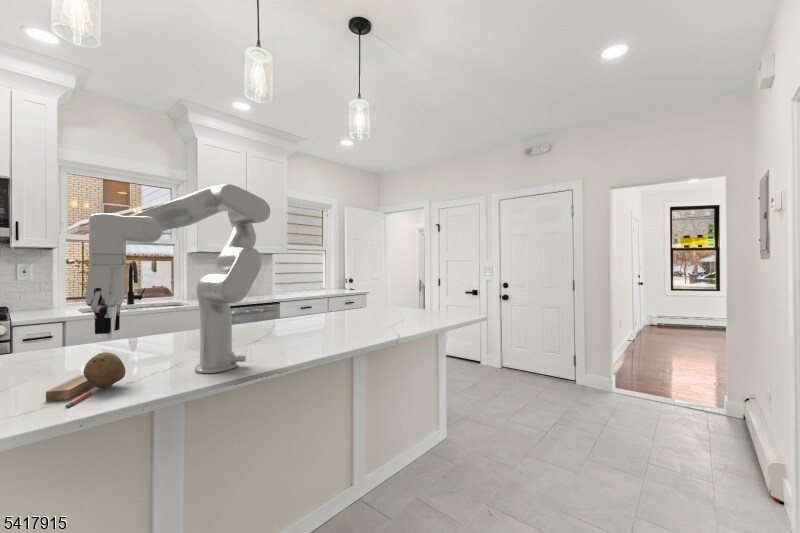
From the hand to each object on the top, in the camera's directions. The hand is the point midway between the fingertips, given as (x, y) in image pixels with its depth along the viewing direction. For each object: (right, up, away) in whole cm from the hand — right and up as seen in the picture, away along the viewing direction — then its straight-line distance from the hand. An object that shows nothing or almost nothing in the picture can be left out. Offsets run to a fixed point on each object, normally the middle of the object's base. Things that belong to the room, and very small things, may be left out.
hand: (107, 331), depth 94 cm
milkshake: (0, -2, 0) cm, 2 cm away
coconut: (-8, -18, +8) cm, 21 cm away
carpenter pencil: (-6, -17, -1) cm, 19 cm away
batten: (-14, -17, +6) cm, 23 cm away
